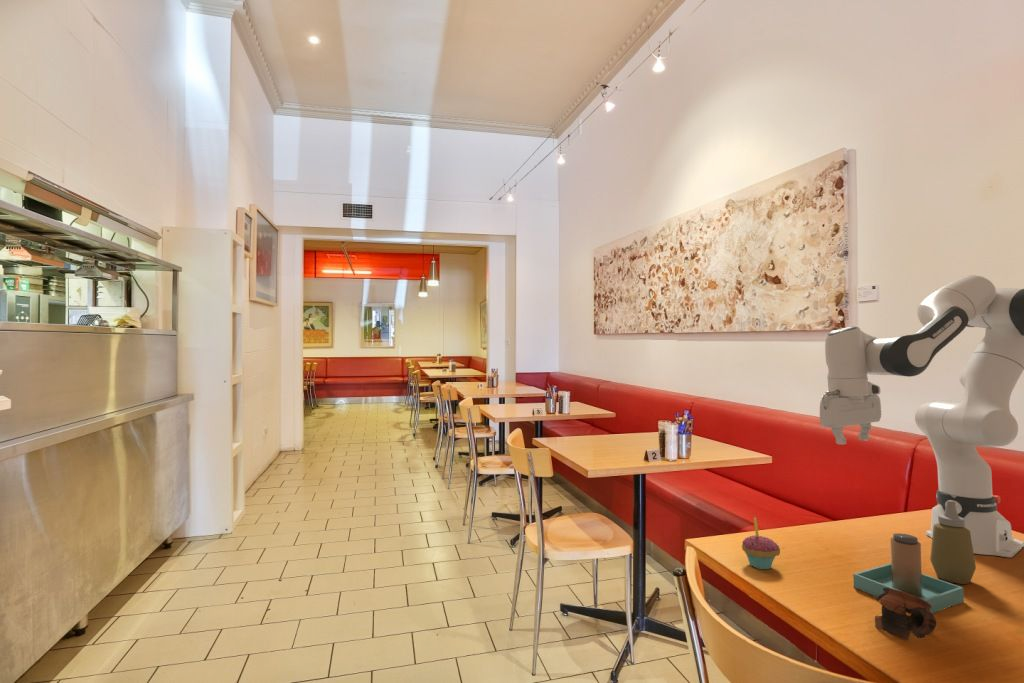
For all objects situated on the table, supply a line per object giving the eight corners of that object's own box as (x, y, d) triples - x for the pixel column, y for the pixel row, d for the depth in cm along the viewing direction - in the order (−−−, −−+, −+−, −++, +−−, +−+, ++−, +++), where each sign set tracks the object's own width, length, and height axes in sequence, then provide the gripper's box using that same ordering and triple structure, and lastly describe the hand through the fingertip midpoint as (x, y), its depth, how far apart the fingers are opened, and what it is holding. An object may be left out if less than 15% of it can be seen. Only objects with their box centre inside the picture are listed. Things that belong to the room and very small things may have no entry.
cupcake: (734, 560, 129) (733, 513, 129) (763, 557, 131) (762, 511, 131) (757, 574, 121) (756, 524, 121) (788, 571, 122) (787, 521, 123)
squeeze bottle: (985, 588, 113) (983, 507, 113) (944, 585, 114) (941, 505, 115) (961, 573, 121) (958, 497, 121) (922, 570, 122) (920, 495, 123)
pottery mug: (858, 622, 100) (867, 580, 102) (903, 644, 100) (910, 602, 102) (909, 639, 89) (918, 592, 91) (960, 663, 88) (967, 616, 91)
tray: (891, 575, 119) (891, 563, 120) (963, 602, 107) (963, 587, 107) (853, 587, 114) (853, 573, 114) (925, 616, 101) (924, 601, 101)
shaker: (900, 584, 114) (899, 531, 114) (927, 594, 109) (925, 538, 109) (886, 589, 112) (885, 534, 112) (913, 599, 107) (911, 542, 107)
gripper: (834, 391, 125) (839, 448, 124) (884, 386, 133) (889, 439, 133) (810, 391, 131) (815, 445, 130) (859, 386, 139) (864, 437, 138)
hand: (852, 442), depth 131 cm, fingers open, 8 cm apart
